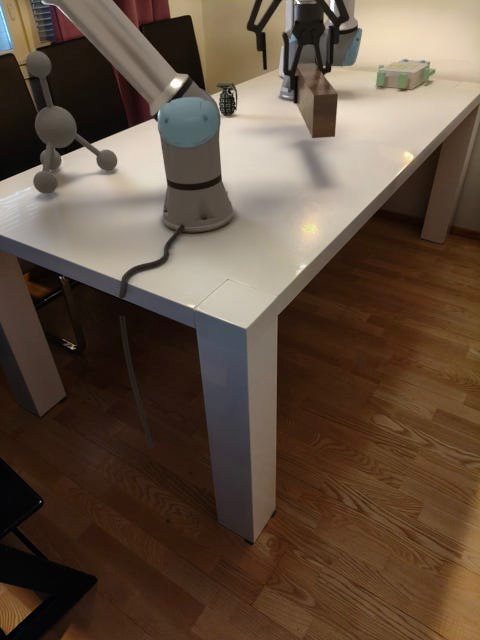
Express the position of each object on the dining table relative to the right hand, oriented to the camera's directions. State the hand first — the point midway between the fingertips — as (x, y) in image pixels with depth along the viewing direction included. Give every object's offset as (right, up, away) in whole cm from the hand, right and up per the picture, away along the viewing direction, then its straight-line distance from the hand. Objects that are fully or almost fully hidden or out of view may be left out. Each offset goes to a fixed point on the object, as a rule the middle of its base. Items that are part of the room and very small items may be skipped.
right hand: (305, 101), depth 135 cm
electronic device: (+6, +45, +77) cm, 90 cm away
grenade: (-22, +11, +35) cm, 43 cm away
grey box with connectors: (+47, +34, +59) cm, 83 cm away
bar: (0, -8, -10) cm, 13 cm away
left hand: (-6, -7, -33) cm, 34 cm away
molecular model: (-61, -22, -4) cm, 65 cm away
